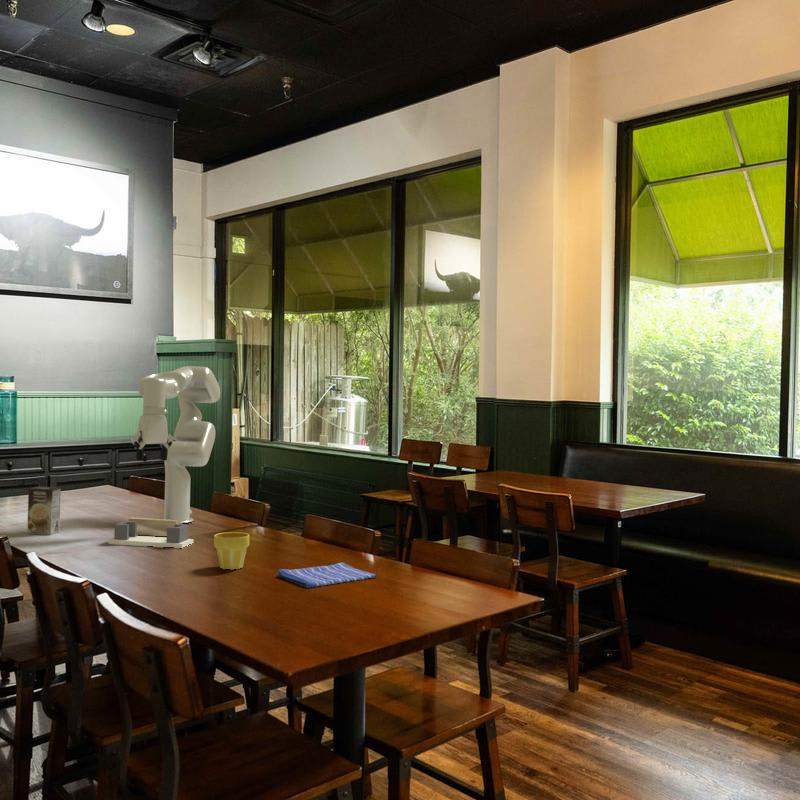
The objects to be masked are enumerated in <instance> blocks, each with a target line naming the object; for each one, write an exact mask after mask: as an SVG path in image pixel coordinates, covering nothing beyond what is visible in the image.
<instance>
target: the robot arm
mask: <svg viewBox="0 0 800 800" xmlns="http://www.w3.org/2000/svg"><path fill="white" fill-rule="evenodd" d="M214 374H215V373H214V372H213V371H212V370H211V369H210V368H209V367H207V366H194V365H193V366H192V365H190V366H189V365H188V366H187V365H186V366H181V367H178V368H177V369H175V370H172V371H166V372H160V373H153V374H150V375H146V376H144V377H143V378H141V380H140V381H139V382H138V383H139V384H138V387H137V388H138V393H139V395H140V397H142V399H143V401H142V415H140V417H139V419H138V425H137V432H136V433H134V434H133V435H131V436H130V437H129V438H130V440H131V443H132V445H133V446H134V449H136V451H135V452H136V455H135V458H136V462H137V461H139V462H144V456H145V455H144V454H145V452H144V447H145V446H146V445H159V446H160V447H161V448H160V453H159V454H160V457H159V458H160V460H161V461H163V462H164V473H165V477H164V478H165V479H164V480H165V481H164V512H163V514H164V516H163V518H161V519H168V520H179V523H188V522H192V521H193V520H194V518H192V517H190V515H192V513H193V511H192V509H191V506H190V505H191V475H190V472H189V471H188V470H187V468H186V467H204V466H206V465H207V464H208V462H209V460H210V457H211V453H212V451H213V447H214V444H215V441H216V440H215V439H216V428H215V425H214V424H213V423H212V422H210V421H202V418H203V416H202V415H203V414H202V412H201V411H200V409H199V408H198V407H197V406H196V404H194V403H197V404H198V403H199V404H213V403H214V404H215V403H217V402H219V400H220V397H221V387H220V384H219V382H218V380H217V379H216V376H215V375H214ZM176 397H177V399H178V405H179V409H180V415H179V419H178V421H177V424H176V427H175V430H174V434H173V435H172V434H170V433H168V420H167V416H165V415H166V414H167V413H168V410H167V409H166V400H170V399H175V398H176ZM192 523H193V522H192Z"/></svg>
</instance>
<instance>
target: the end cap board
mask: <svg viewBox="0 0 800 800" xmlns="http://www.w3.org/2000/svg"><path fill="white" fill-rule="evenodd" d="M192 543H193V544H194V539H193V538H189V524H175V525H174V527H167V537H155V536H138V535H137V522H131V521H128V520H127V521H126V520H124V521H121V522H117V523H115V524H114V537H112V538H108V545H117V546H118V545H119V546H134V547H147V546H153V547H152V548H163V547H174V548H173V549H179V548H183V547H185V546H187V547H189V546H190V545H189V544H191V545H193V544H192ZM188 545H189V546H188ZM185 548H186V547H185ZM183 549H184V548H183Z"/></svg>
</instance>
